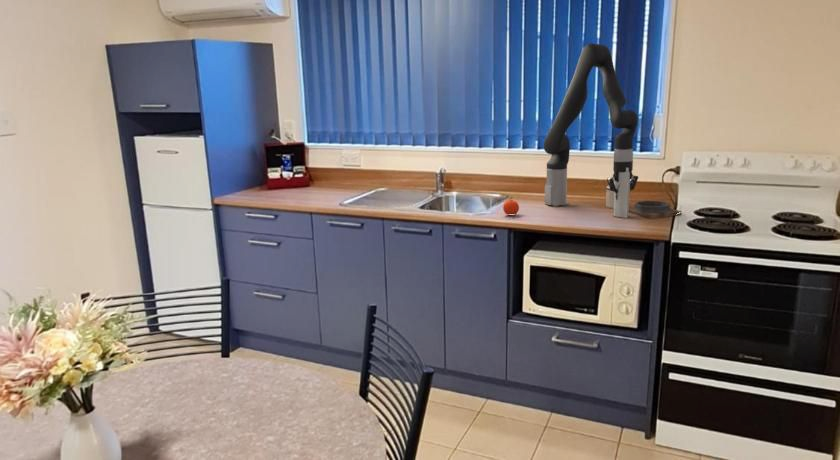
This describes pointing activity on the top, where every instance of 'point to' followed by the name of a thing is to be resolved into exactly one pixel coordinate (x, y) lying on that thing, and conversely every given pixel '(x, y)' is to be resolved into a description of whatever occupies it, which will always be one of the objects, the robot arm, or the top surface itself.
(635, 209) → the holder base
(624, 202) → the tall grey block
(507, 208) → the tomato
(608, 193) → the teacup with lid
